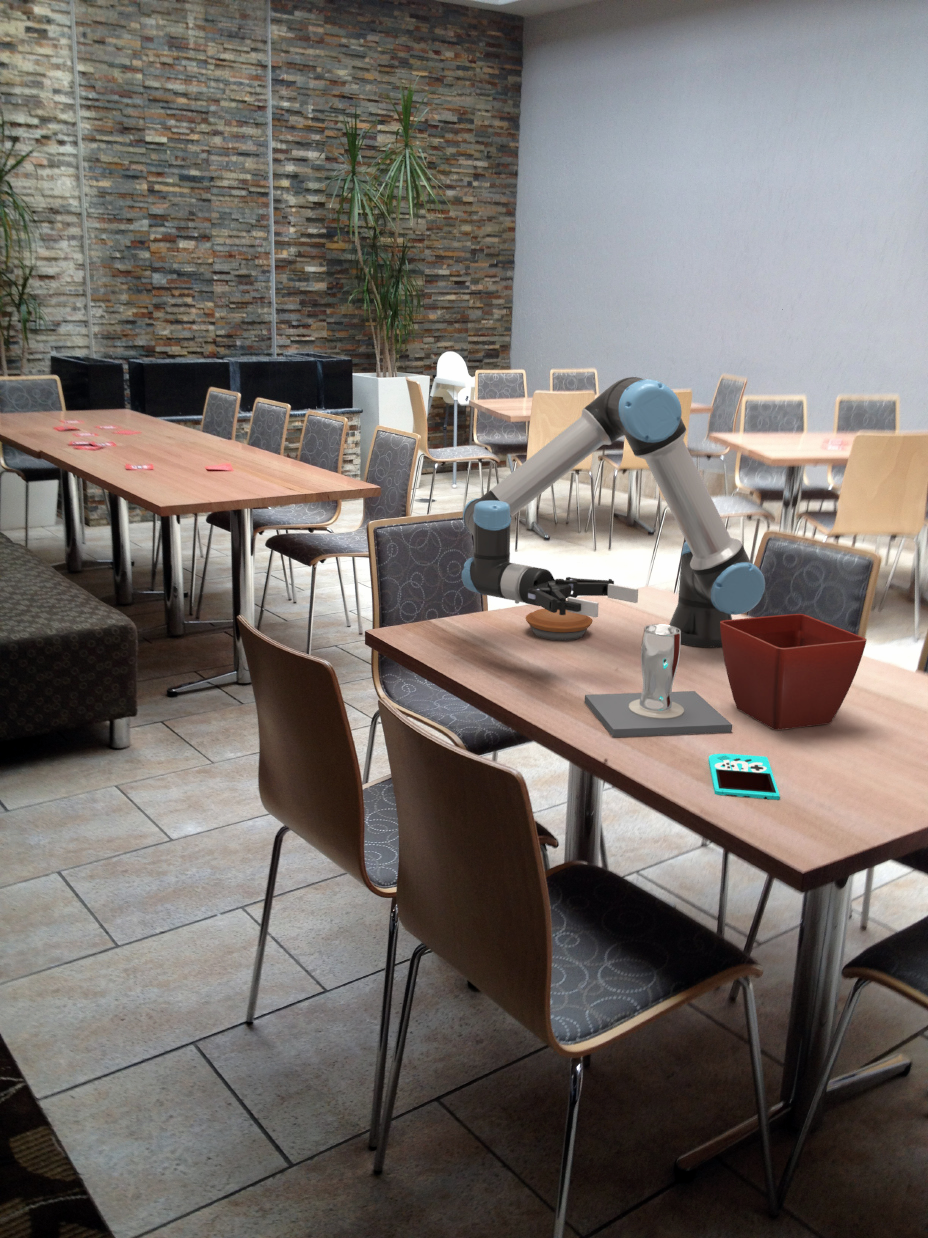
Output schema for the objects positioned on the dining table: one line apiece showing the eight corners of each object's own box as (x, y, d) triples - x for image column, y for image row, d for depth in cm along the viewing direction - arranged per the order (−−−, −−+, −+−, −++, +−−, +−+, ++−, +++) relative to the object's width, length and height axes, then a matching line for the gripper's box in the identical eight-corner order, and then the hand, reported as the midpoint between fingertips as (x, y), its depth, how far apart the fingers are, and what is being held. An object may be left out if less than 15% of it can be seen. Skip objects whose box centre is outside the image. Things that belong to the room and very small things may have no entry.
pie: (595, 644, 246) (596, 623, 244) (525, 642, 246) (526, 621, 244) (588, 625, 260) (589, 605, 259) (523, 623, 261) (524, 603, 259)
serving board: (693, 698, 212) (694, 689, 212) (731, 732, 195) (732, 723, 194) (584, 702, 208) (584, 693, 208) (613, 737, 191) (613, 727, 191)
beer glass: (673, 702, 204) (681, 625, 200) (675, 715, 197) (683, 636, 193) (636, 699, 205) (642, 622, 201) (636, 712, 198) (643, 633, 194)
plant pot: (709, 704, 209) (717, 619, 205) (792, 694, 216) (802, 612, 211) (770, 740, 192) (780, 648, 187) (858, 728, 199) (870, 639, 194)
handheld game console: (768, 763, 183) (768, 755, 183) (781, 803, 168) (782, 795, 168) (707, 758, 185) (707, 750, 184) (714, 798, 169) (715, 789, 169)
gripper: (564, 591, 231) (651, 608, 217) (489, 615, 213) (578, 636, 199) (565, 556, 229) (653, 572, 215) (489, 577, 211) (580, 596, 197)
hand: (617, 602), depth 207 cm, fingers open, 13 cm apart
